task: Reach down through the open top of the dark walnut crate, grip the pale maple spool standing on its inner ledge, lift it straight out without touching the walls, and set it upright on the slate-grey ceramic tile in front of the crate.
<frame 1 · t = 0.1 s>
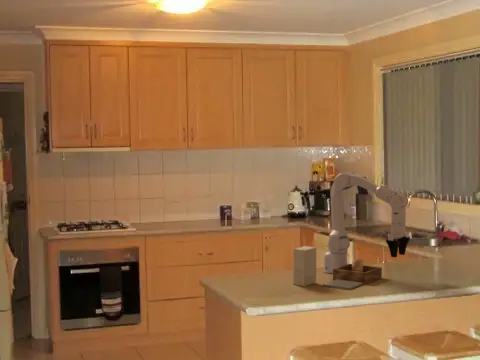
hand: (397, 255, 303), 10 cm above the countertop, tool pointing down, fingers open, 7 cm apart
slate tile: (342, 285, 293), on the countertop
walnut crate: (357, 279, 306), on the countertop
maple spool: (357, 274, 306), point 2 cm above the countertop, touching walnut crate
skincare box: (304, 284, 297), on the countertop
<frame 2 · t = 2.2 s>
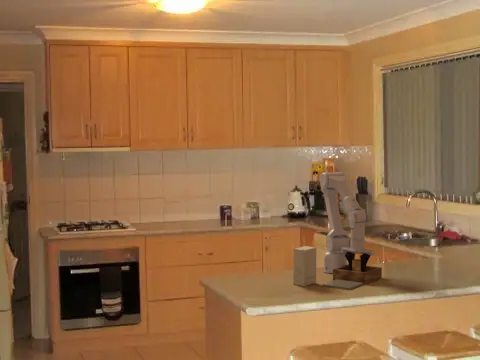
hand: (357, 270, 306), 3 cm above the countertop, tool pointing down, fingers closed on maple spool, 4 cm apart
maple spool: (357, 274, 306), point 2 cm above the countertop, touching gripper, walnut crate
everything else where it was.
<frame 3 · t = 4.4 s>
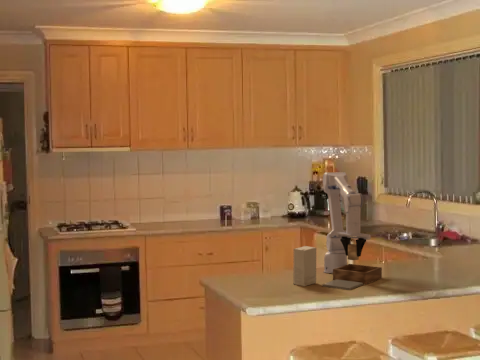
hand: (353, 255, 301), 11 cm above the countertop, tool pointing down, fingers closed on maple spool, 4 cm apart
maple spool: (353, 259, 301), point 9 cm above the countertop, touching gripper
everything else where it was.
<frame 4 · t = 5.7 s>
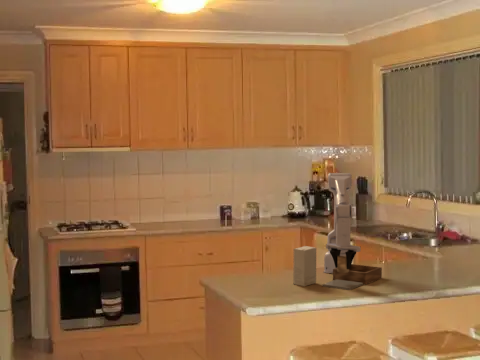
hand: (342, 268, 293), 7 cm above the countertop, tool pointing down, fingers closed on maple spool, 4 cm apart
maple spool: (343, 271, 293), point 6 cm above the countertop, touching gripper
everything else where it was.
when the fingers open (3 cm above the countertop, at t = 6.8 s): maple spool drops 1 cm, resting on slate tile.
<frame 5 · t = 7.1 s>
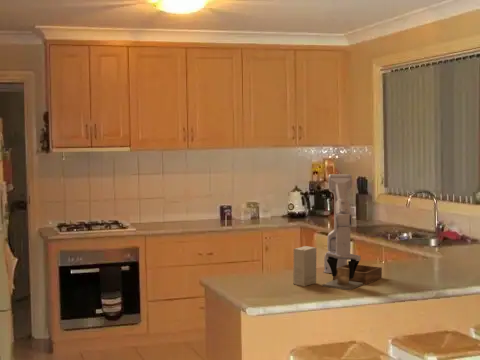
hand: (342, 277, 293), 3 cm above the countertop, tool pointing down, fingers open, 7 cm apart
maple spool: (343, 283, 293), point 1 cm above the countertop, touching slate tile
everything else where it was.
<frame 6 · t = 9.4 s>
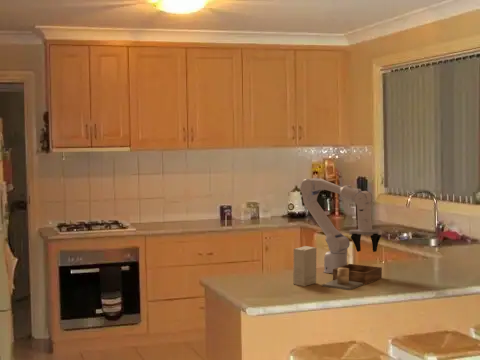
hand: (366, 251, 312), 10 cm above the countertop, tool pointing down, fingers open, 7 cm apart
nothing on the countertop moved.
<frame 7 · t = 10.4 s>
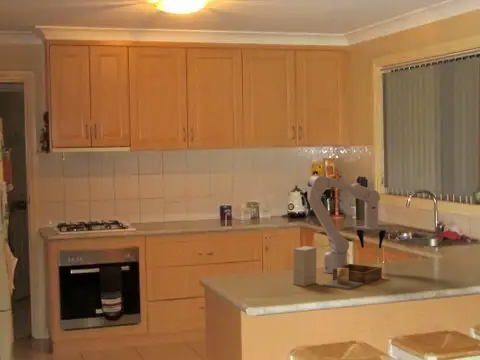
hand: (371, 247, 323), 10 cm above the countertop, tool pointing down, fingers open, 7 cm apart
nothing on the countertop moved.
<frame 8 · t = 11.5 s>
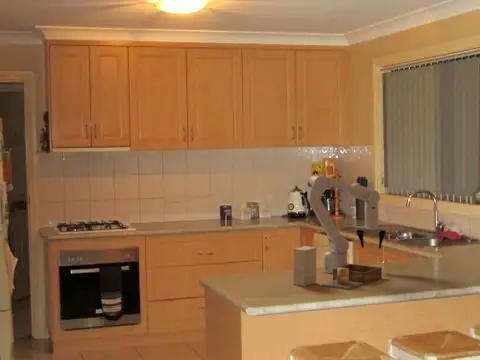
hand: (371, 247, 323), 10 cm above the countertop, tool pointing down, fingers open, 7 cm apart
nothing on the countertop moved.
at the end: maple spool inside the target area on the slate tile (0.1 cm from its centre), point 0.8 cm above the slate tile's base; maple spool tilted 0°; the gripper is holding nothing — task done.
